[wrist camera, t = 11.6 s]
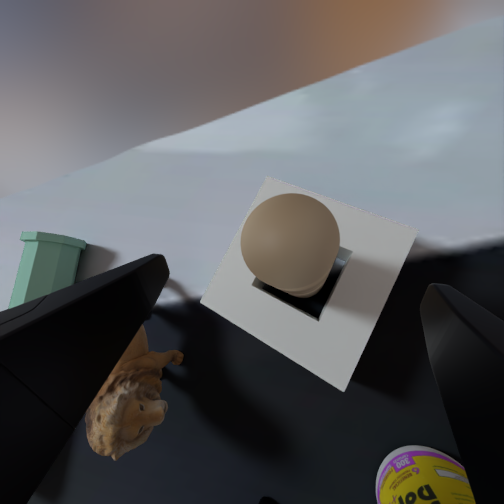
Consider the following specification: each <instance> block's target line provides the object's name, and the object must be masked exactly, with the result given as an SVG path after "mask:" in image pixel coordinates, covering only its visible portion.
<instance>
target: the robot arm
mask: <svg viewBox="0 0 504 504" xmlns="http://www.w3.org/2000/svg"><path fill="white" fill-rule="evenodd" d="M169 274H170V272H169V268H168V265H167V262H166V259H165V257H164V256H163V255H161V254H151V255H148V256H145V257H143V258H140V259H138V260H135V261H132V262H130V263H127V264H125V265H122V266H120V267H117V268H114V269H112V270H109V271H107V272H104V273H101V274H99V275H96V276H94V277H91V278H89V279H86V280H83V281H81V282H78V283H76V284H73V285H70V286H68V287H65V288H63V289H60V290H57V291H55V292H52V293H50V294H49V295H48V294H47V295H44V296H42V297H39V298H37V299H34V300H31V301H29V302H26V303H23V304H21V305H18V306H15V307H13V308H10V309H7V310H4V311H1V312H0V504H27V502H28V501H29V499H30V498H31V496H32V495H33V493H34V492H35V490H36V489H37V487H38V485H39V484H40V482H41V481H42V479H43V478H44V476H45V475H46V473H47V471H48V470H49V468H50V467H51V465H52V464H53V462H54V461H55V459H56V458H57V456H58V454H59V453H60V451H61V450H62V448H63V447H64V445H65V444H66V442H67V441H68V439H69V437H70V436H71V434H72V433H73V431H74V428H76V426H77V425H78V423H79V422H80V420H81V419H82V417H83V415H84V414H85V412H86V411H87V409H88V408H89V406H90V405H91V403H92V402H93V400H94V398H95V397H96V395H97V394H98V392H99V391H100V389H101V388H102V386H103V385H104V383H105V381H106V380H107V378H108V377H109V375H110V374H111V372H112V371H113V369H114V368H115V366H116V364H117V363H118V361H119V360H120V358H121V357H122V355H123V354H124V352H125V351H126V349H127V347H128V346H129V344H130V343H131V341H132V340H133V338H134V337H135V335H136V334H137V332H138V330H139V329H140V327H141V326H142V324H143V323H144V321H145V320H146V318H147V317H148V315H149V313H150V312H151V310H152V308H153V307H154V305H155V303H156V301H157V299H158V297H159V295H160V293H161V291H162V289H163V287H164V285H165V284H166V282H167V280H168V278H169ZM420 313H421V318H422V324H423V329H424V334H425V340H426V345H427V350H428V355H429V359H430V363H431V366H432V370H433V373H434V376H435V379H436V382H437V385H438V388H439V391H440V395H441V398H442V401H443V404H444V407H445V410H446V413H447V416H448V419H449V422H450V426H451V429H452V432H453V435H454V438H455V441H456V444H457V447H458V450H459V453H460V457H461V460H462V463H463V466H464V469H465V472H466V475H467V478H468V481H469V484H470V488H471V491H472V494H473V497H474V500H475V503H476V504H504V321H502V320H501V319H499V318H498V317H496V316H495V315H493V314H492V313H490V312H489V311H487V310H486V309H484V308H483V307H481V306H480V305H478V304H477V303H475V302H474V301H472V300H471V299H469V298H468V297H466V296H465V295H463V294H462V293H460V292H458V291H457V290H455V289H454V288H452V287H451V286H449V285H445V284H436V283H432V284H430V285H429V286H428V288H427V290H426V293H425V295H424V297H423V300H422V302H421V305H420ZM259 504H275V503H274V502H272V501H271V500H270V499H269V498H267V497H262V498H261V499H260V501H259Z"/></svg>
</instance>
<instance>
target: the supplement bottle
mask: <svg viewBox="0 0 504 504" xmlns="http://www.w3.org/2000/svg"><path fill="white" fill-rule="evenodd" d="M376 497H377V503H378V504H476V503H475V500H474V497H473V494H472V491H471V488H470V484H469V481H468V478H467V475H466V472H465V469H464V467H463V466H462V465H461V464H460V463H458V462H457V461H456V460H454V459H453V458H451V457H450V456H448V455H446V454H444V453H442V452H440V451H438V450H435V449H432V448H429V447H425V446H417V445H411V446H405V447H401V448H398V449H396V450H394V451H393V452H391V453H390V454H389V455H388V456H387V457H386V458H385V459H384V461H383V462H382V464H381V466H380V468H379V470H378V474H377V478H376Z"/></svg>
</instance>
